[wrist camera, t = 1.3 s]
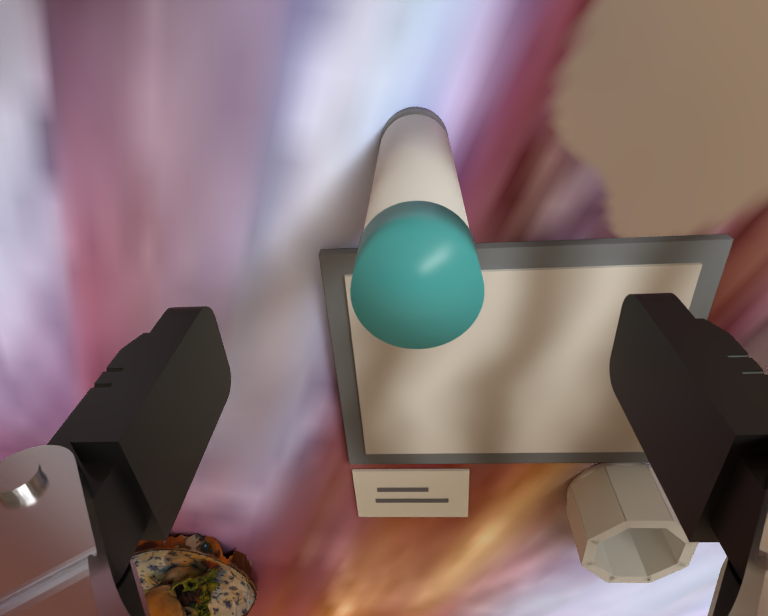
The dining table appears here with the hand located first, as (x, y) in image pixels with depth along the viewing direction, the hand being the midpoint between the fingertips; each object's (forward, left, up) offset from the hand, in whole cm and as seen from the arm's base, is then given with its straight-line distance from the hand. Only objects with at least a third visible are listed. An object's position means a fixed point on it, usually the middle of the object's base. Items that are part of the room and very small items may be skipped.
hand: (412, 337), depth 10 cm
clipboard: (-5, +13, -15) cm, 21 cm away
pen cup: (-13, +25, -15) cm, 32 cm away
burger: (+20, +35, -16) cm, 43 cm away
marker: (0, 0, -15) cm, 15 cm away
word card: (+1, +25, -15) cm, 29 cm away
